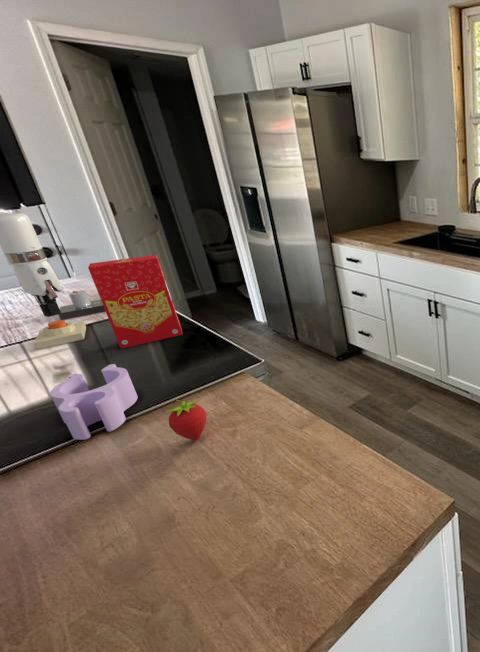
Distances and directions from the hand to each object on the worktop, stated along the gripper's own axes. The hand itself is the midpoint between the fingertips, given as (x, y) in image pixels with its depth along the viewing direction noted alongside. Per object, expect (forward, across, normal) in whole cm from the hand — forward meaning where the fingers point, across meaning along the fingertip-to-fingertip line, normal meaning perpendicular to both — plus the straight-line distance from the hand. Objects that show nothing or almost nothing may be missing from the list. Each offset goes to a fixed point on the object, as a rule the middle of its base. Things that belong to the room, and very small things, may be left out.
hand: (53, 314), depth 126 cm
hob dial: (+5, +20, -16) cm, 26 cm away
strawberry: (+8, -88, +22) cm, 91 cm away
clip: (+8, -58, +22) cm, 63 cm away
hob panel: (+8, +20, -16) cm, 27 cm away
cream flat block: (+8, 0, 0) cm, 8 cm away
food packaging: (+8, -28, -8) cm, 30 cm away
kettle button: (+4, 0, 0) cm, 4 cm away
